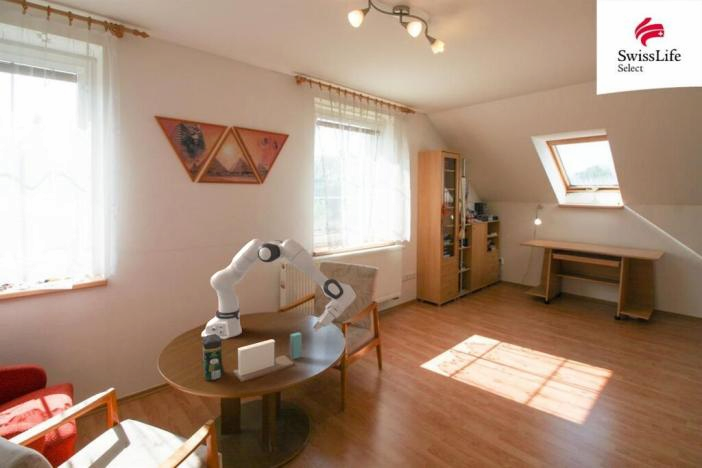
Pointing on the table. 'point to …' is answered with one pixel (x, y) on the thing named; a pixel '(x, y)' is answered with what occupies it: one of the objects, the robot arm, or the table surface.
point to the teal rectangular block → (295, 345)
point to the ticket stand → (259, 360)
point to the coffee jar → (212, 357)
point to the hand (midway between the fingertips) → (314, 329)
